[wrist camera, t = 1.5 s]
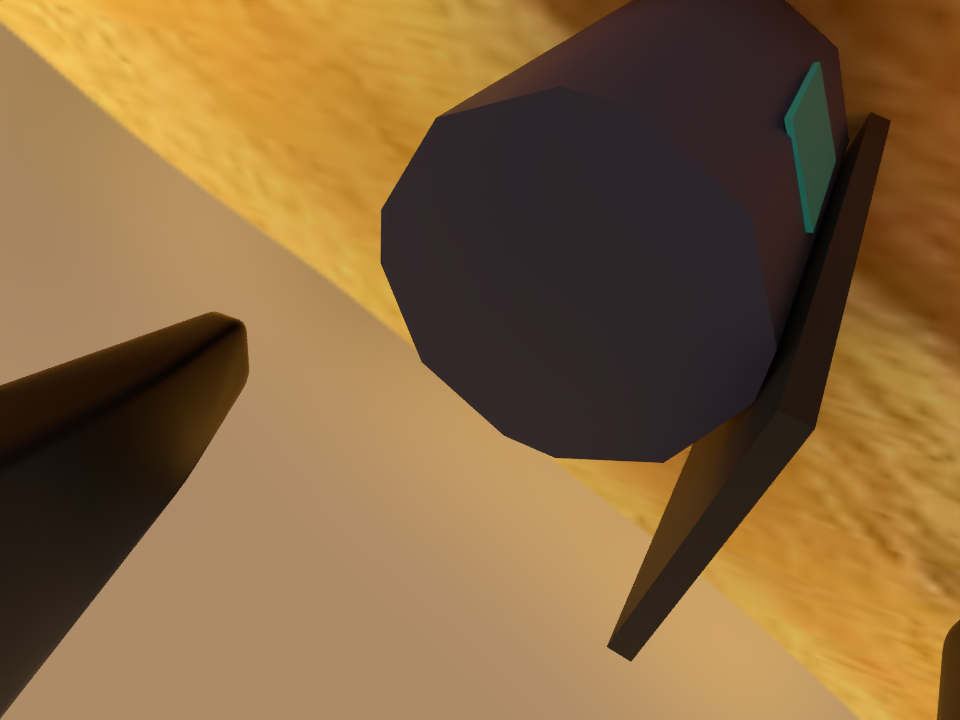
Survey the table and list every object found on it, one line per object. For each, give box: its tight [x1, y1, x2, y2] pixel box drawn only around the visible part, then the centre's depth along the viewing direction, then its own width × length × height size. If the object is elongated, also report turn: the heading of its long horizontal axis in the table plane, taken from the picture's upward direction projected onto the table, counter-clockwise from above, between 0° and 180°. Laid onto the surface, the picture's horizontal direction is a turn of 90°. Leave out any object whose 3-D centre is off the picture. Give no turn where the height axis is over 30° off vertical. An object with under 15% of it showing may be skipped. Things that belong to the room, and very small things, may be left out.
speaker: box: [381, 0, 890, 661], centre depth 13 cm, size 8×6×10 cm
